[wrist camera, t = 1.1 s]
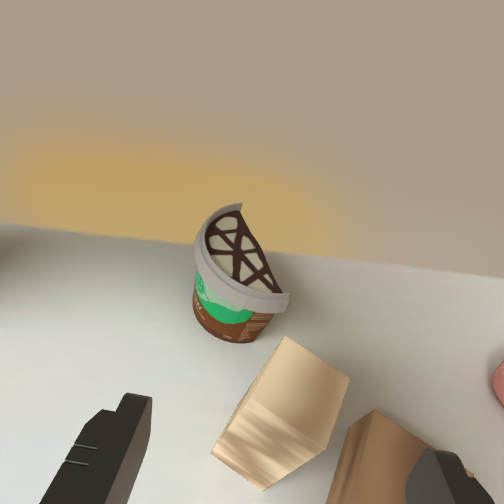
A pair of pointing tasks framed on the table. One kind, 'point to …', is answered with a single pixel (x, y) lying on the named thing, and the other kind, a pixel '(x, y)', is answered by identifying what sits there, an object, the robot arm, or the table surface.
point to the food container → (233, 279)
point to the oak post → (283, 416)
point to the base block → (375, 463)
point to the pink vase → (499, 382)
